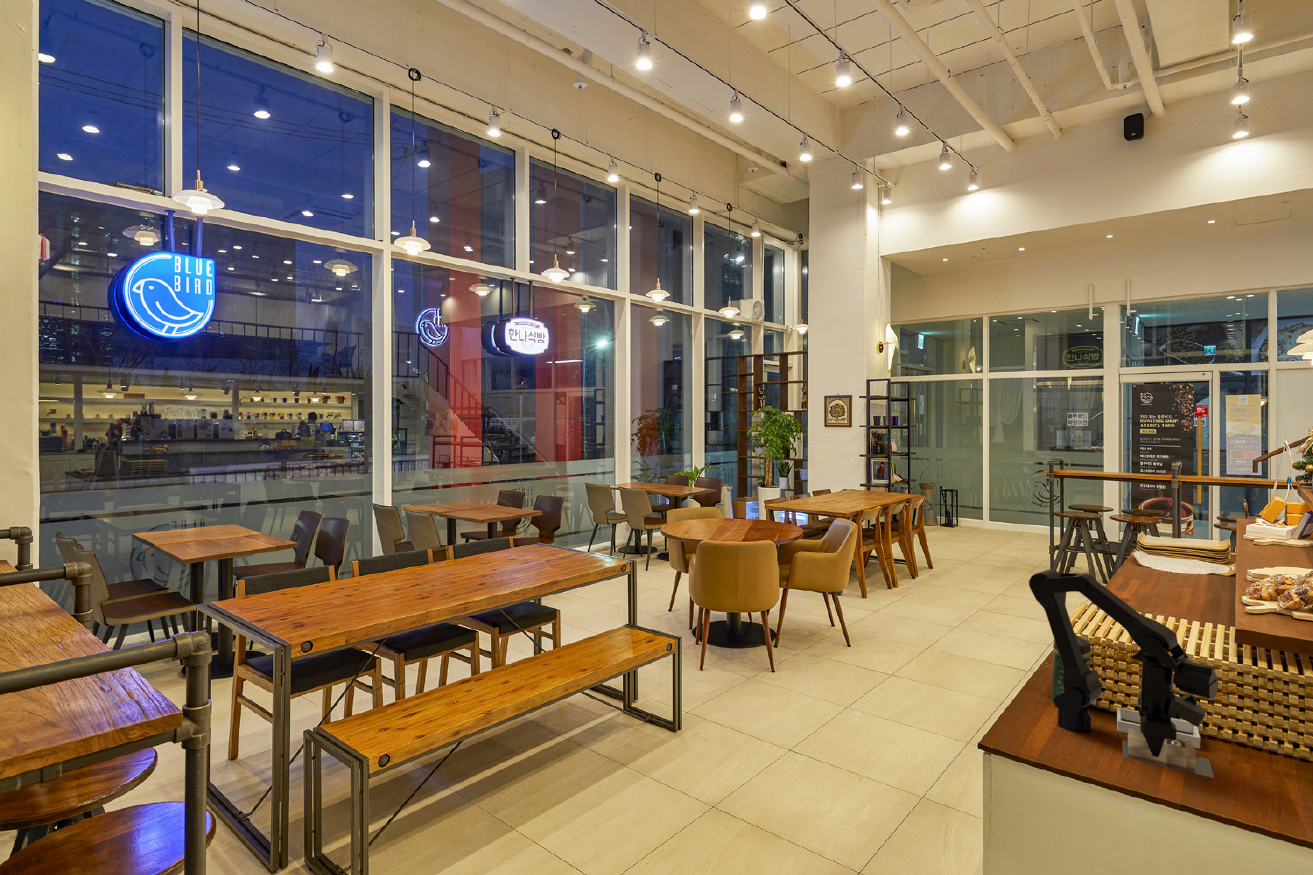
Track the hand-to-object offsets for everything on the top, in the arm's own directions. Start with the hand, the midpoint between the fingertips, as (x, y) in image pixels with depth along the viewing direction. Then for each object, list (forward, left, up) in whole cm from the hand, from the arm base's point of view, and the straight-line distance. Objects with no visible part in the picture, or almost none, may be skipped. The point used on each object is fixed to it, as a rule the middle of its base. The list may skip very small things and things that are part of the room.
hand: (1154, 750), depth 154 cm
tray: (+1, +14, -2) cm, 14 cm away
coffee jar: (-17, +23, -2) cm, 29 cm away
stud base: (+2, 0, -2) cm, 3 cm away
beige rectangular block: (+1, 0, -1) cm, 1 cm away
